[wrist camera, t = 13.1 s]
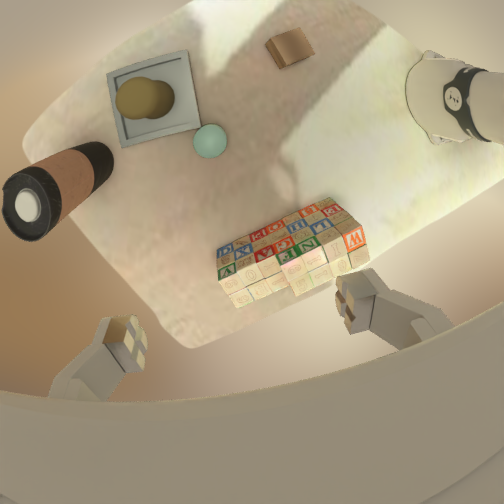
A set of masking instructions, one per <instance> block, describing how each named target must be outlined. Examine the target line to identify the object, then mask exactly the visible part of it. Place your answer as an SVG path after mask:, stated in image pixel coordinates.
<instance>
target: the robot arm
mask: <svg viewBox="0 0 504 504" xmlns="http://www.w3.org/2000/svg"><path fill="white" fill-rule="evenodd" d="M434 57H435V58H434ZM406 96H407V102H408V106H409V109H410V111H411V113H412V115H413V117H414V119H415V120H416V122H417V123H418V124H419V125H420V126H421V127H422V128H423V129H424V130H425V131H426V132H427V134H428V136H429V138H430V140H431V142H432V143H433V144H436V145H439V144H443V143H447V142H450V141H457V142H464V141H465V140H469V139H471V138H475V139H477V140H480V141H486V142H491V141H493V142H496V143H499V144H502V145H504V73H497V72H489V71H487V70H485V69H480V68H476V67H473V66H472V65H469V64H465V63H464V62H463V61H460V60H457V59H448V58H444V57H443V56H441V55H439V54H437V53H435V52H433V51H428V50H427V51H425V53H424V55H423V57H422V60H421V61H420V62H418V63H417V64H416V65H415V66H414V67H413V68H412V69H411V71H410V73H409V75H408V78H407V83H406ZM336 286H337V288H338V291H337V292H336V294H335V296H336V299H335V301H336V307H337V309H338V312H339V314H340V316H342V317H344V318H345V320H344V324H345V325H346V328H347V329H348V331H349V333H350V335H351V334H355V333H358V332H362V331H366V330H370V331H371V332H373V333H374V334H376V335H377V336H379V337H380V338H382V339H383V340H385V341H387V342H388V343H390V344H391V345H393V346H394V347H396V348H397V349H399V351H397V352H394V353H392V354H389V355H386V356H383V357H380V358H377V359H374V360H372V361H368V362H365V363H362V364H359V365H356V366H353V367H349V368H346V369H343V370H339V371H336V372H332V373H329V374H325V375H321V376H317V377H313V378H309V379H305V380H301V381H297V382H292V383H288V384H283V385H278V386H273V387H268V388H263V389H258V390H252V391H246V392H239V393H233V394H226V395H218V396H211V397H203V398H202V397H201V398H191V399H180V400H166V401H144V402H106V400H107V399H108V398H109V397H110V395H111V394H112V392H113V391H114V389H115V388H116V387H117V385H118V384H119V383H120V381H121V380H122V378H123V377H124V376H125V374H126V373H131V372H142V371H143V370H144V364H145V357H144V356H143V355H144V353H145V352H146V351H147V348H148V341H147V336H146V333H145V331H144V329H142V328H141V327H139V326H138V324H139V320H138V318H137V317H136V315H133V314H131V315H122V316H114V317H106V318H103V319H101V321H100V324H99V326H98V329H97V331H96V334H95V337H94V339H93V342H92V345H88V346H87V347H86V348H85V349H84V350H83V351H82V352H81V353H80V354H79V355H78V356H76V357H75V358H74V359H73V360H72V361H71V362H70V363H69V364H68V365H67V366H66V367H65V368H64V369H63V370H62V371H61V372H60V373H59V374H58V375H56V376H55V378H54V381H53V383H52V386H51V389H50V392H49V395H48V398H45V397H37V396H29V395H23V394H16V393H11V392H6V391H1V390H0V504H504V301H502V302H501V303H499V304H497V305H496V306H494V307H492V308H490V309H489V310H487V311H485V312H483V313H481V314H480V315H477V316H476V317H474V318H472V319H470V320H468V321H466V322H464V323H462V324H460V325H458V326H456V327H455V326H454V325H453V323H452V322H451V321H450V320H449V319H448V317H447V316H446V315H445V314H444V312H443V311H442V310H441V309H440V308H437V307H435V306H433V305H430V304H428V303H425V302H423V301H420V300H418V299H415V298H413V297H411V296H408V295H405V294H403V293H401V292H398V291H396V290H390V289H389V288H388V287H387V286H386V284H385V283H384V282H383V281H382V279H381V278H380V277H379V276H378V275H377V273H376V272H375V271H374V270H373V269H372V268H368V269H364V270H361V271H358V272H354V273H350V274H346V275H341V276H337V278H336Z"/></svg>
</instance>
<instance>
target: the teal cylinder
mask: <svg viewBox="0 0 504 504" xmlns="http://www.w3.org/2000/svg"><path fill="white" fill-rule="evenodd" d="M226 144H227V139H226V134H225V131H224V130H223V128H222V127H220V126H219V125H217V124H206V125H204V126H202V127H201V128H200V129H199V130H198V131H197V133H196V134H195V136H194V139H193V146H194V149H195V151H196V152H197V153H198V154H199V155H200V156H202V157H205V158H214V157H217V156H219V155H220V154H221V153H222V152H223V151H224V150H225V148H226Z"/></svg>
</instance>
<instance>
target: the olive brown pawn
mask: <svg viewBox="0 0 504 504" xmlns="http://www.w3.org/2000/svg"><path fill="white" fill-rule="evenodd" d="M174 102H175V94H174V90H173V89H172V87H171V86H170V85H169V84H168V83H166V82H164V81H161V80H151V79H149V78H146V77H143V76H140V77H134V78H131V79H128V80H127V81H126V82H124V83H123V84H122V85H121V86H120V88H119V89H118V91H117V94H116V98H115V104H116V108H117V110H118V111H119V113H120V114H121V115H123V116H124V117H125V118H128V119H131V120H139V119H142V118H148V119H158V118H161V117H163V116H165V115H166V114H168V113H169V111H170V110H171V109H172V107H173V105H174Z"/></svg>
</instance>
